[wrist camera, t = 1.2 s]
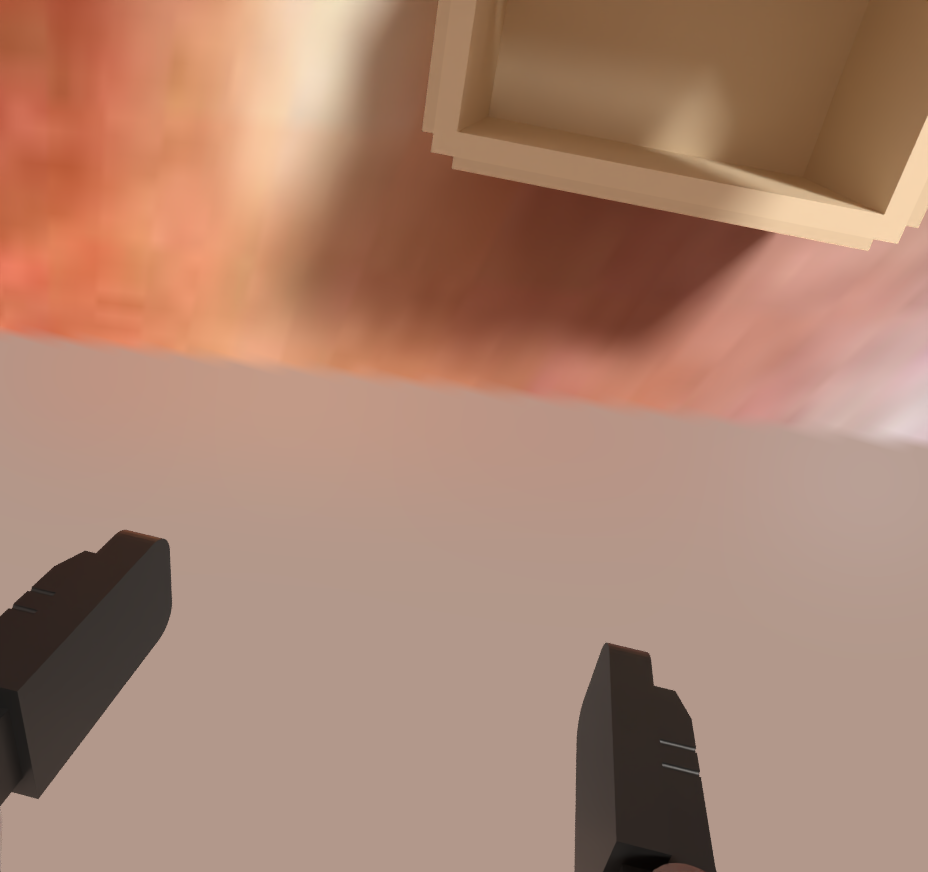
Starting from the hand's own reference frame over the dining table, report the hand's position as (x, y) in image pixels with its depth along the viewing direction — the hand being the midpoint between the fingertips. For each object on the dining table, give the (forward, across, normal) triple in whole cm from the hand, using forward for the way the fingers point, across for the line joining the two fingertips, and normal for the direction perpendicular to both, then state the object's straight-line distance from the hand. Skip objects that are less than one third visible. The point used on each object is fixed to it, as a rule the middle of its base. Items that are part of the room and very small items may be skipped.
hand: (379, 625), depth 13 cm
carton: (+26, +5, +12) cm, 29 cm away
